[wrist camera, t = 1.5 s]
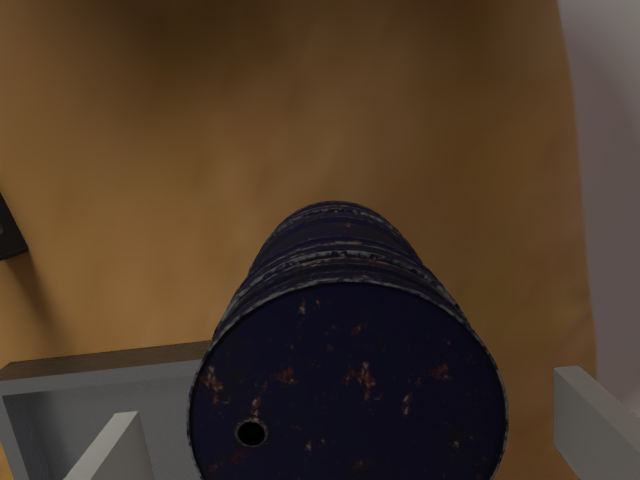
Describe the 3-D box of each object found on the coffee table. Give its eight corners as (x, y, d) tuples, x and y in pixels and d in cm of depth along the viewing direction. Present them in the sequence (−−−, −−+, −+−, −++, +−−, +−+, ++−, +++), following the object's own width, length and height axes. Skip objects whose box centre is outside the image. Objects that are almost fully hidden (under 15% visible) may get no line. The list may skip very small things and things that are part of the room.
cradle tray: (10, 362, 29) (-19, 383, 27) (228, 338, 28) (219, 357, 26) (67, 541, 32) (46, 573, 30) (263, 522, 32) (257, 554, 29)
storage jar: (414, 196, 26) (527, 269, 12) (411, 344, 28) (503, 560, 14) (251, 201, 26) (161, 280, 12) (262, 347, 29) (197, 565, 14)
